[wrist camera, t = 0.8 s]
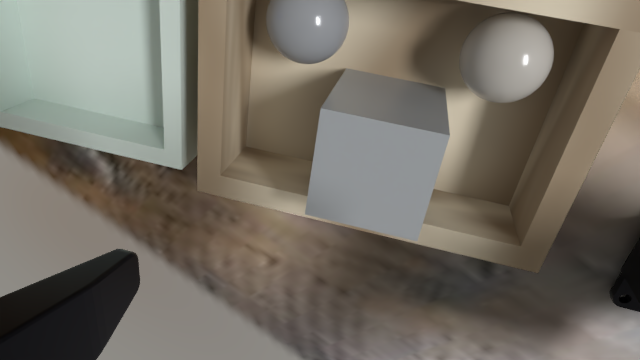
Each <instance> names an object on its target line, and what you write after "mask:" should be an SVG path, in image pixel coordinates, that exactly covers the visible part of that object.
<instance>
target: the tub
mask: <svg viewBox="0 0 640 360" xmlns="http://www.w3.org/2000/svg"><path fill="white" fill-rule="evenodd" d="M0 127H3V128H7V129H11V130H15V131H20V132H24V133H28V134H32V135H36V136H41V137H45V138H49V139H53V140H57V141H62V142H66V143H70V144H74V145H79V146H83V147H87V148H91V149H95V150H100V151H104V152H108V153H112V154H117V155H121V156H125V157H129V158H133V159H138V160H142V161H146V162H150V163H154V164H159V165H163V166H167V167H171V168H176V169H180V170H182V169H183V168H184V167H185V166H187V165H188V164H189V163H190V162H191V161H192V160H193V159H194V158H195V157H196V156H197V141H198V0H0Z"/></svg>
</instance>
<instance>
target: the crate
mask: <svg viewBox="0 0 640 360" xmlns="http://www.w3.org/2000/svg"><path fill="white" fill-rule="evenodd" d="M269 2H270V0H198V141H197V191H200V192H204V193H208V194H212V195H216V196H220V197H224V198H229V199H233V200H237V201H241V202H245V203H249V204H253V205H257V206H262V207H266V208H270V209H274V210H278V211H282V212H286V213H291V214H295V215H299V216H303V217H307V218H311V219H315V220H319V221H324V222H328V223H332V224H336V225H340V226H344V227H348V228H353V229H357V230H361V231H365V232H369V233H373V234H377V235H382V236H386V237H390V238H394V239H398V240H402V241H406V242H410V243H415V244H419V245H423V246H427V247H431V248H435V249H439V250H444V251H448V252H452V253H456V254H460V255H464V256H468V257H472V258H477V259H481V260H485V261H489V262H493V263H497V264H501V265H506V266H510V267H514V268H518V269H522V270H526V271H530V272H535V273H538V272H539V270H540V268H541V266H542V264H543V262H544V260H545V258H546V256H547V254H548V252H549V250H550V248H551V246H552V244H553V242H554V240H555V238H556V236H557V234H558V232H559V230H560V228H561V226H562V224H563V222H564V220H565V218H566V216H567V214H568V212H569V210H570V208H571V206H572V204H573V202H574V200H575V198H576V196H577V194H578V192H579V190H580V188H581V186H582V184H583V182H584V180H585V178H586V176H587V174H588V172H589V170H590V168H591V166H592V164H593V162H594V160H595V158H596V156H597V154H598V152H599V150H600V148H601V146H602V144H603V142H604V140H605V138H606V136H607V134H608V132H609V130H610V128H611V126H612V124H613V122H614V120H615V118H616V116H617V114H618V112H619V110H620V107H621V105H622V103H623V101H624V99H625V97H626V95H627V93H628V91H629V89H630V87H631V85H632V83H633V81H634V79H635V77H636V75H637V73H638V71H639V69H640V0H345V2H346V5H347V8H348V12H349V29H348V33H347V36H346V39H345V41H344V43H343V45H342V46H341V47H340V49H339V50H338V51H337V52H336V53H335V54H334V55H333V56H331V57H330V58H328V59H327V60H325V61H322V62H319V63H315V64H300V63H296V62H294V61H291V60H289V59H287V58H286V57H284V56H283V55H282V54H281V53H280V52H279V51H278V50H277V49H276V48H275V47H274V45H273V44H272V42H271V40H270V38H269V35H268V32H267V27H266V12H267V7H268V4H269ZM505 12H516V13H522V14H526V15H528V16H531V17H533V18H534V19H536V20H538V21H539V22H540V23H541V24H542V25H543V26H544V27H545V28H546V30H547V31H548V33H549V34H550V37H551V39H552V43H553V48H554V59H553V64H552V68H551V70H550V72H549V75H548V76H547V78H546V80H545V81H544V82H543V84H542V85H541V86H540V87H539V88H538V89H537V90H536V91H534V92H533V93H532V94H530V95H529V96H527V97H525V98H523V99H521V100H518V101H514V102H509V103H494V102H490V101H486V100H484V99H482V98H480V97H478V96H476V95H475V94H474V93H473V92H471V91H470V89H469V88H468V87H467V86H466V84H465V83H464V81H463V79H462V76H461V73H460V69H459V56H460V51H461V47H462V45H463V42H464V41H465V39H466V37H467V36H468V34H469V33H470V32H471V30H472V29H473V28H474V27H475V26H476V25H478V24H479V23H480V22H482V21H483V20H485V19H487V18H488V17H491V16H493V15H496V14H500V13H505ZM346 68H348V69H353V70H358V71H363V72H368V73H373V74H378V75H383V76H388V77H393V78H398V79H403V80H408V81H413V82H418V83H423V84H428V85H433V86H438V87H443V88H445V91H446V101H447V111H448V121H449V131H450V137H449V140H448V144H447V147H446V150H445V153H444V157H443V160H442V163H441V166H440V169H439V173H438V176H437V179H436V182H435V186H434V189H433V192H432V195H431V199H430V202H429V205H428V208H427V211H426V215H425V218H424V221H423V224H422V228H421V231H420V234H419V237H418V241H414V240H409V239H405V238H401V237H397V236H393V235H389V234H385V233H380V232H376V231H372V230H368V229H364V228H360V227H356V226H351V225H347V224H343V223H339V222H335V221H331V220H327V219H322V218H318V217H314V216H310V215H306V214H305V210H306V203H307V196H308V190H309V183H310V176H311V170H312V163H313V156H314V150H315V143H316V136H317V130H318V123H319V116H320V110H321V107H322V105H323V104H324V102H325V101H326V99H327V98H328V96H329V94H330V93H331V91H332V90H333V88H334V87H335V85H336V84H337V82H338V80H339V79H340V77H341V76H342V74H343V73H344V71H345V70H346Z"/></svg>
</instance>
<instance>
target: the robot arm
mask: <svg viewBox="0 0 640 360" xmlns="http://www.w3.org/2000/svg"><path fill="white" fill-rule="evenodd" d="M621 272H622V273H621V274H620V276H619V277H618V279H617V281H616V282H615V284H614V286H613V287H612V289H611V291H610V297H611V299H612V301H613V303H614V304H615V305H617V306H619V307H623V308H627V309H631V310H635V311H639V312H640V239H639V241H638V242H637V244H636V246H635V247H634V249H633V250H632V252H631V254H630V255H629V257H628V259H627V260H626V262H625V263H624V265H623V267H622V268H621ZM139 285H140V275H139V263H138V257H137V255H136V253H134V252H130V251H127V250H123V249H116V250H113V251H111V252H109V253H106V254H104V255H102V256H99V257H96V258H94V259H92V260H90V261H87V262H85V263H82V264H80V265H77V266H75V267H72V268H70V269H68V270H65V271H63V272H61V273H58V274H55V275H53V276H51V277H48V278H46V279H43V280H41V281H39V282H36V283H34V284H31V285H29V286H27V287H24V288H22V289H19V290H17V291H14V292H12V293H10V294H7V295H5V296H2V297H0V360H96V359H97V358H98V356H99V355H100V354H101V352H102V350H103V349H104V347H105V346H106V344H107V342H108V341H109V339H110V337H111V336H112V334H113V332H114V330H115V329H116V327H117V325H118V323H119V322H120V320H121V318H122V317H123V315H124V313H125V311H126V310H127V308H128V306H129V305H130V303H131V301H132V299H133V297H134V296H135V294H136V293H137V291H138V288H139ZM621 295H627V296H625V297H620V296H621Z"/></svg>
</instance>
